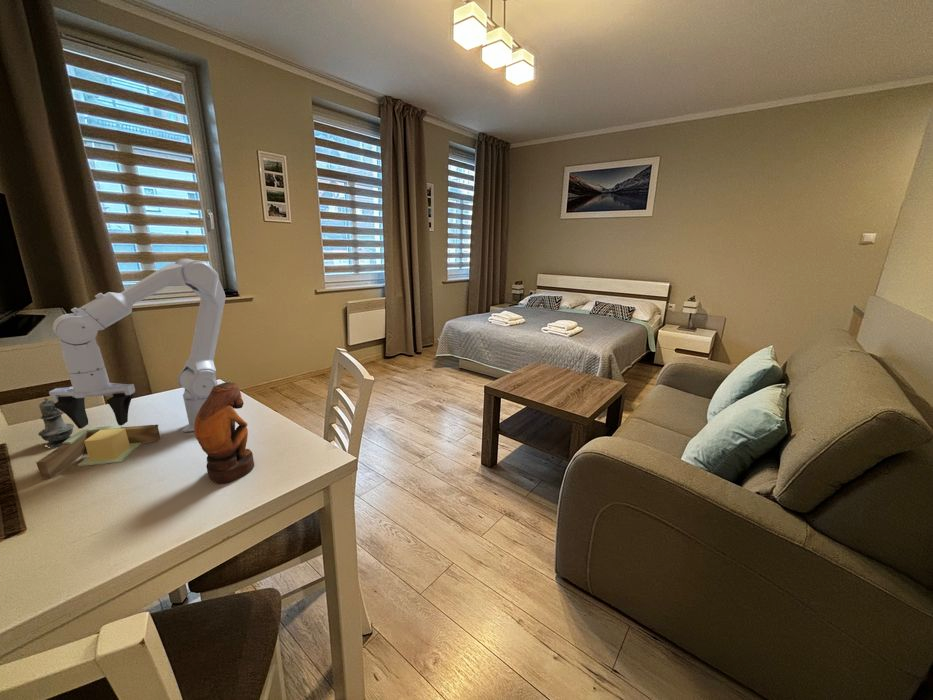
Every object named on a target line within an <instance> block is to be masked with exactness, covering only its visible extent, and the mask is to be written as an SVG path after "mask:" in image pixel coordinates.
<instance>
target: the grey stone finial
mask: <svg viewBox="0 0 933 700" xmlns="http://www.w3.org/2000/svg"><path fill="white" fill-rule="evenodd" d="M56 402H57V401H56V400H49V398H48V397H44V401H43V402H41V403H40V404H39V405H38V406H39V410H40V412H41V416H40V420H43V423H44V429H42V430H41V431H39V432H38V433H37V435H38V436H40V437H41V438H42V440H44V441H47V443H45V445H47V446H48V447H50V448H49V449H57V448H56V447H58V448H59V447H60V446H62V445H63V444H62V443H63V442H64V441H66V440H67V439H69V438H70V437H72V436H73V435H72V434H73V431H74V428H75V426H74V423H73V424H72V423H65V422H64V419H63V416H62V415H63V413H64V412H62V411H61V410H59V409H58V408H56V407H55V406H54V404H55V403H56Z"/></svg>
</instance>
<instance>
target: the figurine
mask: <svg viewBox="0 0 933 700" xmlns="http://www.w3.org/2000/svg"><path fill="white" fill-rule="evenodd" d="M242 397H243V396H242V392H241V389H240V387H238V385H237V383H235V382H230V381H229V382H222V383H219V384H217V386H214V387H213V388H212V391H211V393H210V394H209V396H208V398H207V399H206V401H205V402H204V403H203V405H202V406H201V408H200V410H199V412H198V413H197V415H196V418H195V423H194V431H193V432H194V436H195V438H196V440H197V442H198V444H199V446H200V448H201V450H202V451H203V452H204V453H205V454H206V455H207V456H206V465H205V466H206V467H205V468H206V471H207V475H208V479H209V480H210V482H211V483H213V484H225V483H229V482H233V481H235V480H237V479H238V478H241V477H243V476H245V475H247V474H249V473H250V472H251V471H253V468H254V467H255V461H254V454H253V452H252V450H251V449H250V448H246V446H247V442H248V435H249V430H248V423H247V422H246V421H245V420H244V419H243V418H242V417H241V416H240V415H239V414H238V412H237V411H236V410H235V409H237V410H238V409H242V408H243V406H244V399H243V398H242ZM236 424H238V426H236Z"/></svg>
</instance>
